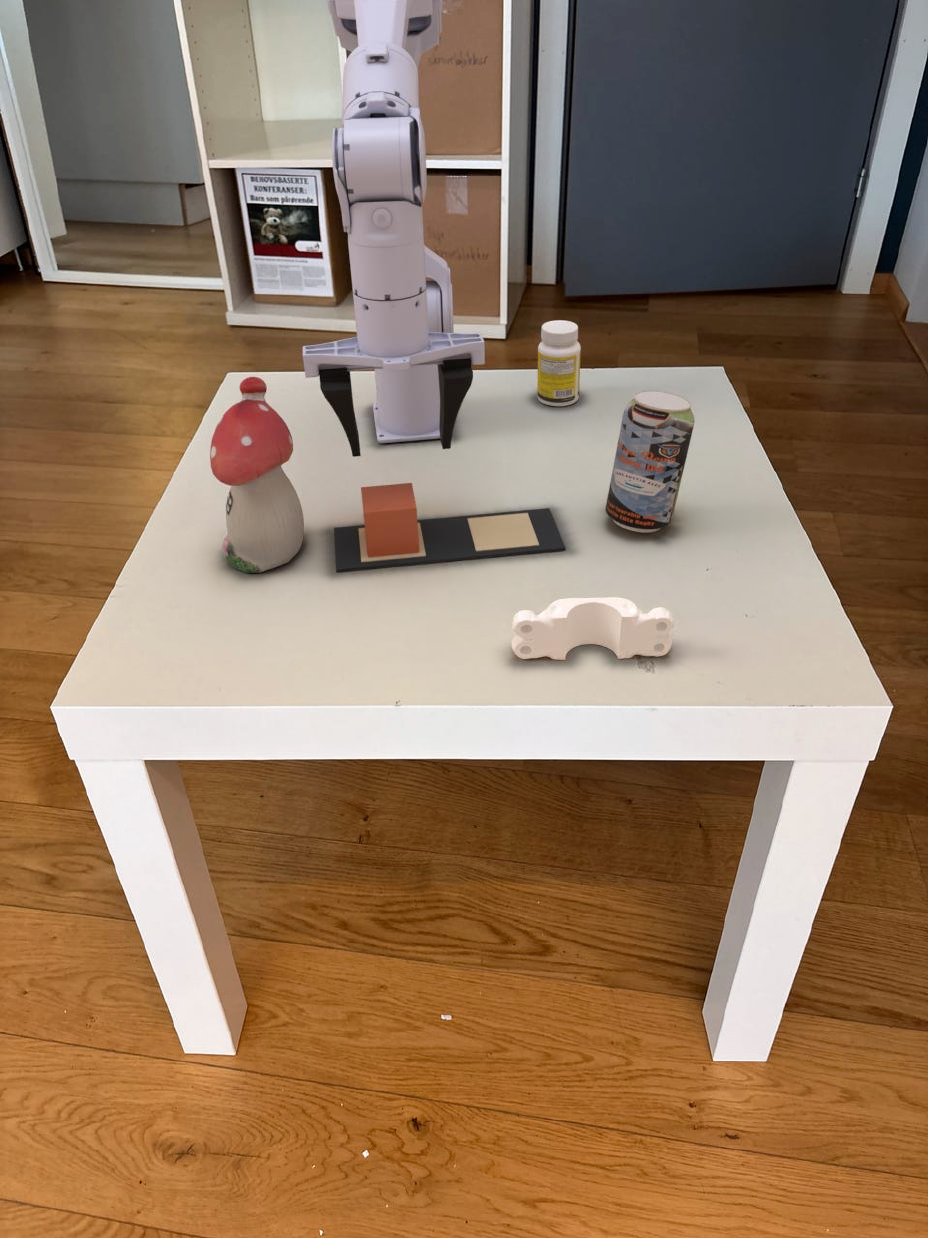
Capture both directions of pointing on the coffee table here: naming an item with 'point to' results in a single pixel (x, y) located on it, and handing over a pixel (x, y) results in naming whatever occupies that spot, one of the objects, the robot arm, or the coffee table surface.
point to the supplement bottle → (559, 363)
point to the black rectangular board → (457, 540)
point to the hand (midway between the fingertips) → (401, 447)
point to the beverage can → (650, 460)
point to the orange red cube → (390, 519)
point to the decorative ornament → (256, 483)
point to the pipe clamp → (592, 628)
